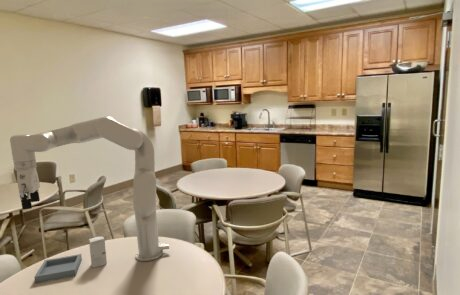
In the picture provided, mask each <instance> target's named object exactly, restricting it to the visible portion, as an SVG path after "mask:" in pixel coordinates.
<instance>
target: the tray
mask: <svg viewBox="0 0 460 295" xmlns="http://www.w3.org/2000/svg"><path fill="white" fill-rule="evenodd" d="M82 261H83V258H82V253H79V254H73V255H68V256H67V255H66V256H61V257H55V258H50V259H45V260H44V261H43V263H42V264H41V265H40V267H39V269H38V270H37V272H36V274H35V276H33V277H34V283H35V284H36V285H37V284H41V283H46V282H51V281H56V280H62V279H68V278H73V277H77V275H78V274H77V273H78V271H79V268H80V267H81V264H82Z"/></svg>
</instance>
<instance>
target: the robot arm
mask: <svg viewBox="0 0 460 295" xmlns="http://www.w3.org/2000/svg"><path fill="white" fill-rule="evenodd" d="M98 139H99V140H100V139H105V140H107V141H109V142H111V143H113V144H115V145H117V146H119V147H121V148H124V149H126V150H129V151H134V161H135V162H134V175H133V182H132V186H133V189H132V210H133V213H134V220H135V228H136V241H137V251H136V252H135V259H136V260H137V261H140V262H151V261H154V260H156V259H159V258H160V257H161V256H162V255H163V254H164V251H165V250H170V245H169V244H167V243H160V240H159V230H158V218H157V207H156V206H157V177H156V173H155V165H156V163H155V162H156V160H155V148H154V143H153V141H152V140H151V138H150V137H149V135H147V134H146V133H145V132H144V131H142V130H140V129H137V128H131V127H129V126H127V125H124V124H123V123H121V122H119V121H118V120H116V118H114V117H113V116H111V115H110V116H108V115H107V116H102V117H97V118H94V119H89V120H86V121H80V122H77V123H73V124H71V125H68V126H64V127H61V128H56V129H52V130H51V129H50V130H48V131H42V132H40V133H36V134H15V135H12V136H10V138H9V142H10V150H11V155H12V156H11V157H12V163H13V166H14V168H13V169H14V171H16V180H17V181H16V182H17V187H18V194H19V198H20V202H21V207H22V208H21V209H22V210H23V211H25V210H31V209H32V208H33V206H32V203H36V202H40V192H39V188H41V184H40V179H39V174H38V170H37V160H36V154H35V153H43V152H44V153H45V152H47V151H49V150H52V149H54V148H57V147H58V148H59V147H62V146H65V145H70V144H82V143H87V142H90V141H94V140H95V141H96V140H98Z"/></svg>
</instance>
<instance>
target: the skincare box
mask: <svg viewBox="0 0 460 295" xmlns="http://www.w3.org/2000/svg"><path fill="white" fill-rule="evenodd" d="M88 243H89V245H88V246H89V253H90V262H91V266H92V268H98V267H101V266H104V265H107V262H108V261H107V251H106V240H105V238H104V236H103V235H100V236H95V237H92V238H89V239H88Z"/></svg>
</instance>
